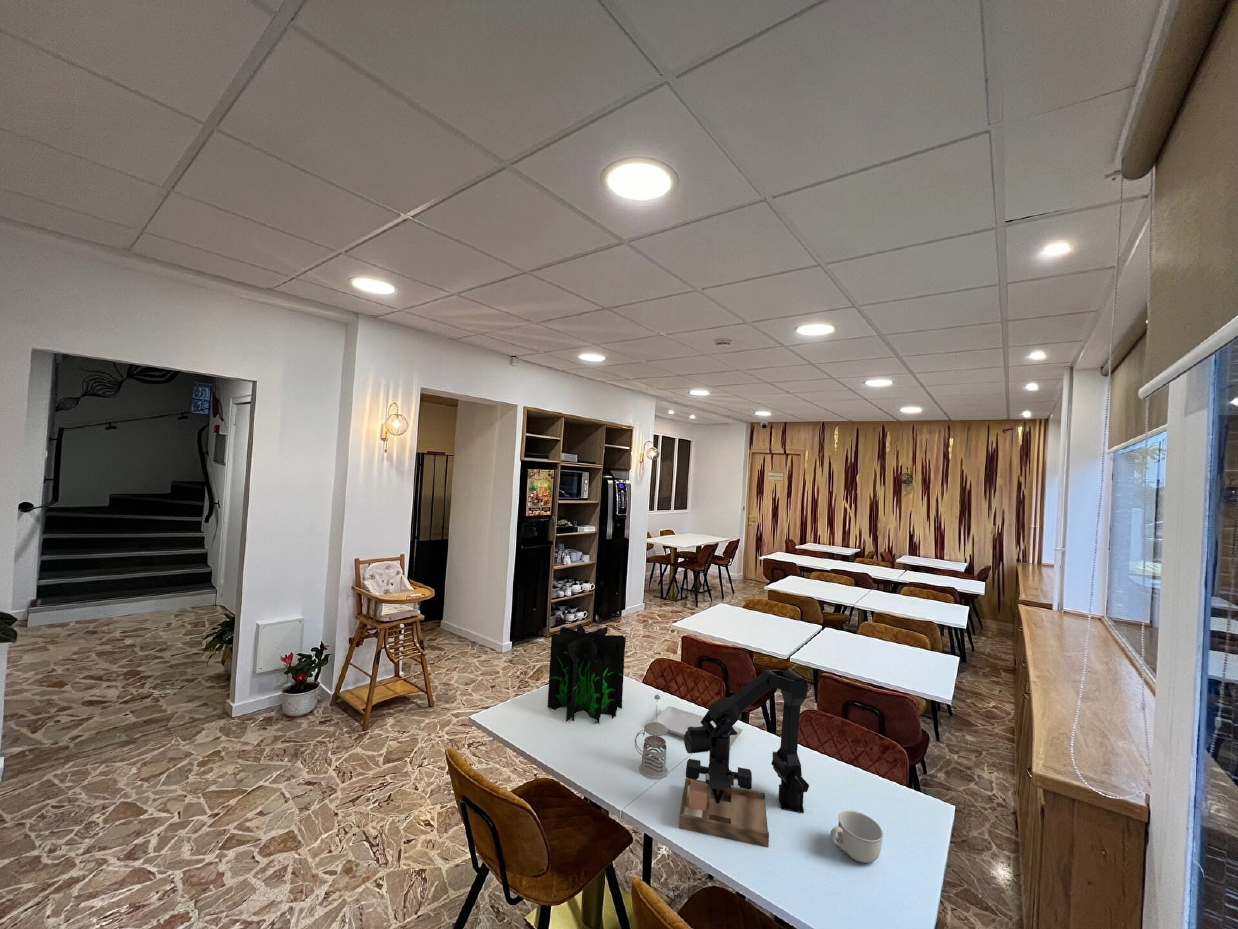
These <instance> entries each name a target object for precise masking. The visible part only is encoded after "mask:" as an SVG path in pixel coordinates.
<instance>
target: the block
mask: <svg viewBox="0 0 1238 929" xmlns="http://www.w3.org/2000/svg"><path fill="white" fill-rule="evenodd" d="M707 787H708V784H706V783H704V782H699V781H693V780H691V782H690V789H689V808H693V809H698V810H703V811H706V804H707Z"/></svg>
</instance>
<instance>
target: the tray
mask: <svg viewBox="0 0 1238 929" xmlns="http://www.w3.org/2000/svg"><path fill="white" fill-rule="evenodd" d="M703 718H704V716H702V715H700V714H696V713H693V712H689V711H686V710H683V709H680V708H677V707H674V706H670V705H669V706H667V707H665V709H663V711H662V712H661V713H660V714H659V715H657V720H656V718H654V719H653V720H652V721H651V722H659V723H661V724H663V725H664V726H666V727H667V728H668V732H667V733H670V734H673V735H675V736H677V737H681V738H684V735H685V732H686V731H688V727H701V726H703V725H702V724H701V721H702V719H703ZM710 723H711V724H712V725H713V726H714V728H715V727H716V724H715V723H714V722H713V721H711V722H710ZM732 727H733V729H734V730H735V731H736V732H737V735H730V750H731V749H733V747H734V745H735V743H736V742H737V740H738V739H739V738H740V736H741V735H742V733H743V731H744V730H743V729H742V728H741V727H737V726H735V725H733V726H732Z"/></svg>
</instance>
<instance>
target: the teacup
mask: <svg viewBox="0 0 1238 929" xmlns="http://www.w3.org/2000/svg"><path fill="white" fill-rule="evenodd" d="M883 831H884V830H882V827H881V825H880V824H879V823H877V822H876V820H874V819H873V818H872V817H870V816H868V815H867V814H864V813H862V812H860V811H856V810H850V809H849V810H843V811H841V812H840V813H839V814H838V826H834V827H833V828H832V829H831V830H830V839H831V841H832V842H833V843H834V844H835V845H836V846H838V847H839V848H840V850H842V851H844V852H845V853H846V854H847V855H848V856H849V857H850V858H851V859H853V860H854V861H856V862H859V863H862V864H863V863H865V864H869V863H872V862H875V861H877V860H878V859H879V857H880V856H881V850H882V843H883V837H884V832H883ZM836 836H837V839H838V840H837V839H836Z"/></svg>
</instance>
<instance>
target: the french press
mask: <svg viewBox="0 0 1238 929" xmlns="http://www.w3.org/2000/svg"><path fill="white" fill-rule="evenodd" d="M660 699H661V696H660V695H659V694H655V695H654V700H656V701H658V700H660ZM655 708H656V709H655V710H656V712H655V719H656V720H657V717H658V714H657V713H658V706H656V707H655ZM645 733H646V734H648V736H646V737H645V735H646V734H645ZM668 733H669V732H668V728H667V727H666V726H664V725H663V724H661V723H659V722H652V721H651V722H649V723H646V724H645V725H644V726H643V729H641V730H639V731H638V732H637V734H636V735H635V739H634V748H635V751H636V752H638V754H639V755H641V765H640V766H639V767H638V771H639V773H640V774H641V775H642V776H643V777H644V778H646V779H648V780H654V781H655V780H656V781H657V780H663V779H664V778H666V777H668V775H669V769H668V768H667V767H666V762H667V745H666V744H667V741H666V740H665V738H664V737H663V736H665V735H667V734H668ZM641 734H642V737H645V738H644V742H643V746H642V747H643V748H642V750H641V749H640V748H639V746H638V743H637V738H638V736H640V735H641ZM641 752H642V753H641Z"/></svg>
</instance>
